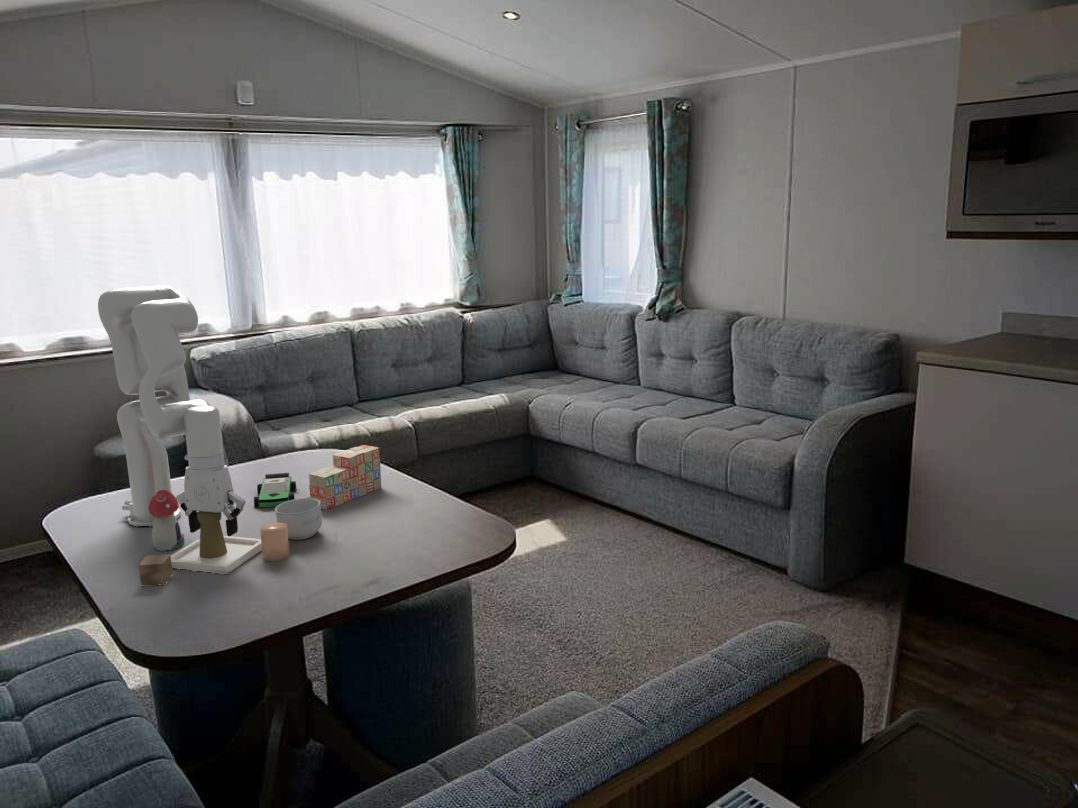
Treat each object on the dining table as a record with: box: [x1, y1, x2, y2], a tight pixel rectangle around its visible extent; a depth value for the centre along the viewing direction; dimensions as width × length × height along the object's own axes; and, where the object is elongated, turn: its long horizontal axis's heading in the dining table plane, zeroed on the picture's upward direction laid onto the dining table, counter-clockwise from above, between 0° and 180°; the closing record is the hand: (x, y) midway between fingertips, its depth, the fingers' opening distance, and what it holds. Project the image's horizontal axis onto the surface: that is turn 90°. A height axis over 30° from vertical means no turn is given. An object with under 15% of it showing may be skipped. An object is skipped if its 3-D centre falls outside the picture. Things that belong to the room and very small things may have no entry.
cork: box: [197, 511, 227, 559], centre depth 193 cm, size 6×6×11 cm
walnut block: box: [138, 554, 174, 586], centre depth 182 cm, size 5×5×5 cm
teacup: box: [274, 495, 323, 541], centre depth 207 cm, size 14×11×8 cm
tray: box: [170, 535, 262, 575], centre depth 194 cm, size 16×16×2 cm
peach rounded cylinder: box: [259, 521, 290, 562], centre depth 194 cm, size 6×6×7 cm
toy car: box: [253, 472, 297, 509], centre depth 234 cm, size 10×19×5 cm, turn 14°
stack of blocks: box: [308, 444, 382, 511], centre depth 233 cm, size 21×6×12 cm, turn 148°
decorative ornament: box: [148, 490, 185, 552], centre depth 199 cm, size 9×7×15 cm
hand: (214, 532), depth 193 cm, fingers open, 9 cm apart
